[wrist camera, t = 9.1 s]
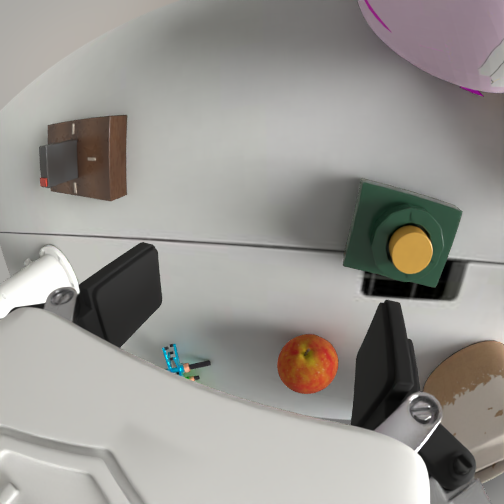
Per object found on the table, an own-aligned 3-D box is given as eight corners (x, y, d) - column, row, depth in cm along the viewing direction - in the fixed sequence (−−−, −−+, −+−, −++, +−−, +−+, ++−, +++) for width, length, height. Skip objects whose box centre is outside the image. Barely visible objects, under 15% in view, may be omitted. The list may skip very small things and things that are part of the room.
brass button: (383, 259, 22) (386, 269, 20) (395, 220, 20) (399, 227, 19) (419, 268, 21) (423, 278, 20) (432, 230, 19) (438, 238, 18)
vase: (435, 418, 32) (439, 503, 18) (408, 375, 30) (413, 486, 16) (511, 377, 25) (534, 459, 10) (503, 320, 23) (548, 422, 8)
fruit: (278, 397, 31) (265, 379, 25) (285, 348, 35) (275, 319, 29) (335, 400, 28) (337, 383, 23) (338, 348, 33) (340, 319, 27)
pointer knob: (69, 139, 27) (37, 147, 23) (77, 139, 27) (44, 146, 22) (70, 177, 30) (40, 187, 25) (78, 177, 29) (47, 188, 25)
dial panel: (65, 186, 35) (49, 191, 32) (63, 122, 30) (46, 125, 27) (127, 194, 32) (109, 202, 29) (127, 114, 27) (108, 116, 24)
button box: (342, 256, 27) (342, 275, 23) (361, 177, 23) (365, 185, 20) (429, 277, 24) (439, 298, 21) (454, 205, 21) (470, 217, 17)
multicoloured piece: (155, 337, 38) (162, 385, 32) (201, 328, 39) (213, 375, 34) (173, 369, 46) (181, 408, 40) (210, 362, 47) (220, 400, 42)
